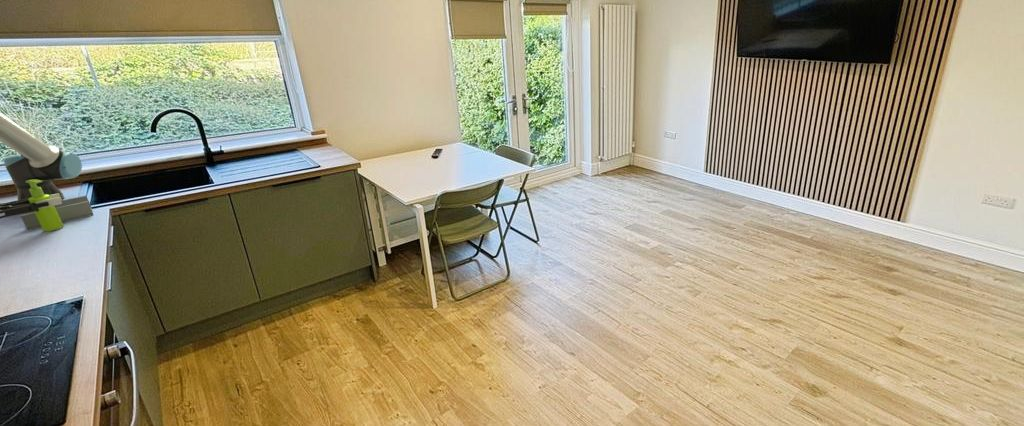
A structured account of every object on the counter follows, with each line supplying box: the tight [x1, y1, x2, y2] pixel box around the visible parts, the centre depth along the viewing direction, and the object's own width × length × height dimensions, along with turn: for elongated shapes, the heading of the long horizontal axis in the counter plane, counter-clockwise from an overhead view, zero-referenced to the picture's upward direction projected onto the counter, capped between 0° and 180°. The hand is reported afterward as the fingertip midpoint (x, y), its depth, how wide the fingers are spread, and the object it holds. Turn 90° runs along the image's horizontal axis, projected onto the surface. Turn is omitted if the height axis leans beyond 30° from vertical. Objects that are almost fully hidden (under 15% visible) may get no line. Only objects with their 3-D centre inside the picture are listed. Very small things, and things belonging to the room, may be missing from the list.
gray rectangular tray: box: [20, 195, 94, 231], centre depth 188 cm, size 12×20×6 cm, turn 134°
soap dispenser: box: [26, 179, 64, 232], centre depth 174 cm, size 6×7×20 cm
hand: (60, 198), depth 177 cm, fingers closed on soap dispenser, 6 cm apart
